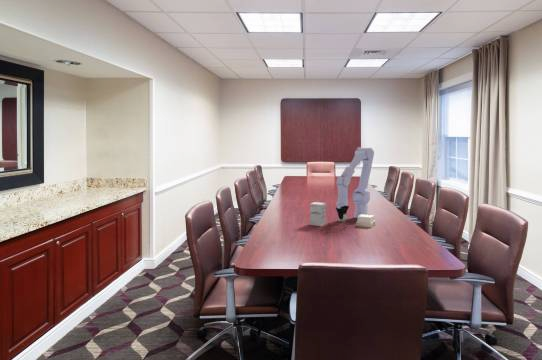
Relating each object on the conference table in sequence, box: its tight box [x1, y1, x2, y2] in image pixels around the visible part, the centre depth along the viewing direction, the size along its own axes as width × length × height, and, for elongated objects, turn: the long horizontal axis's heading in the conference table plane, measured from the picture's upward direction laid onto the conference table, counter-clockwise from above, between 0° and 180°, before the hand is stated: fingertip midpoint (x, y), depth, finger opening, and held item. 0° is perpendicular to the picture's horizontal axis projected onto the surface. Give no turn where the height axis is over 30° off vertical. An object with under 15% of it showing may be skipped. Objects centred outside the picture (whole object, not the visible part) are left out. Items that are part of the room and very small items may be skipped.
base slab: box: [355, 219, 377, 229], centre depth 224 cm, size 9×9×3 cm
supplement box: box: [309, 201, 327, 227], centre depth 225 cm, size 7×7×13 cm
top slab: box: [357, 214, 375, 223], centre depth 224 cm, size 8×8×3 cm
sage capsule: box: [337, 213, 347, 222], centre depth 236 cm, size 4×4×4 cm
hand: (342, 218), depth 236 cm, fingers closed on sage capsule, 4 cm apart
